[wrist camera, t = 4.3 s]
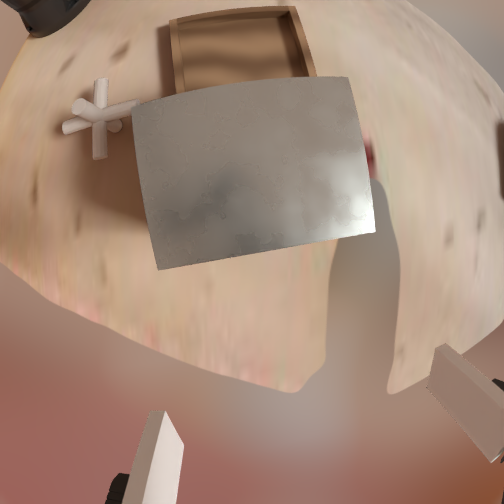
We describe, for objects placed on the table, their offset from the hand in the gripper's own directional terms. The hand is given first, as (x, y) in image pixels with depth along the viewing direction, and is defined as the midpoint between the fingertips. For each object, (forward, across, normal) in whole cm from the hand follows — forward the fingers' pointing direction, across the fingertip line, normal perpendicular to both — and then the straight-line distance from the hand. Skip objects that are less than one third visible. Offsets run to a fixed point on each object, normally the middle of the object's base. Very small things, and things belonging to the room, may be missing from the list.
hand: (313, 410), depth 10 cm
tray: (+25, +2, +27) cm, 37 cm away
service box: (+24, 0, +11) cm, 27 cm away
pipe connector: (+25, -16, +22) cm, 37 cm away
